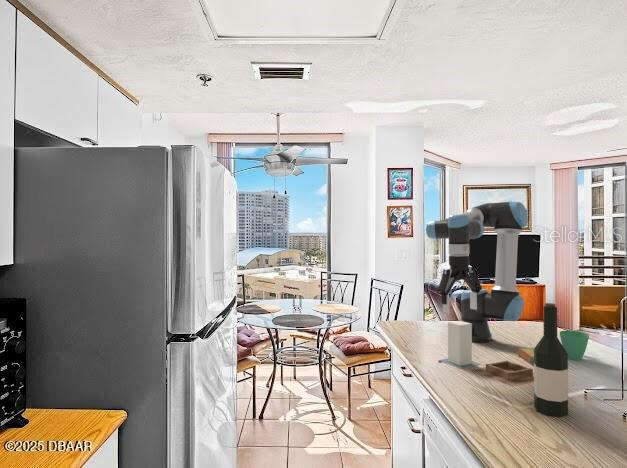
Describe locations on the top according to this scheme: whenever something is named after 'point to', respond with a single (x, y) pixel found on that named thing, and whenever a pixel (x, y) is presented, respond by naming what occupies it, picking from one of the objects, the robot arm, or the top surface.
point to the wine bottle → (550, 369)
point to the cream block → (460, 342)
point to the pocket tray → (507, 373)
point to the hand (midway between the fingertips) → (460, 310)
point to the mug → (574, 343)
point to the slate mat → (458, 365)
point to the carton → (527, 355)
